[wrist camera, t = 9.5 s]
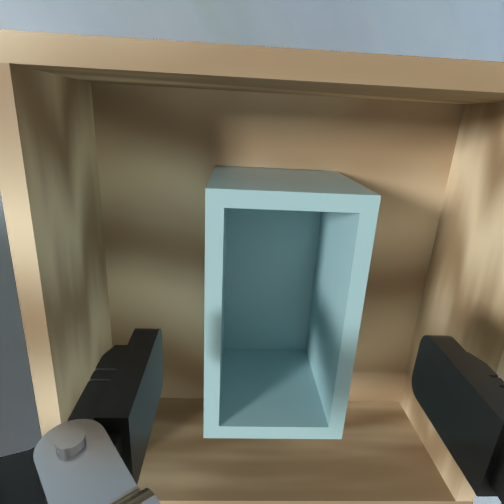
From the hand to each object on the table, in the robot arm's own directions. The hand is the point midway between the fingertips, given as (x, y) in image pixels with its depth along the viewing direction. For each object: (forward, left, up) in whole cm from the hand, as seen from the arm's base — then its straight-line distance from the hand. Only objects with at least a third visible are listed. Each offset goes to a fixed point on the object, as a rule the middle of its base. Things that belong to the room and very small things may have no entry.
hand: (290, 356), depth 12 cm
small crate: (0, 0, -8) cm, 8 cm away
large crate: (0, 0, -9) cm, 9 cm away
